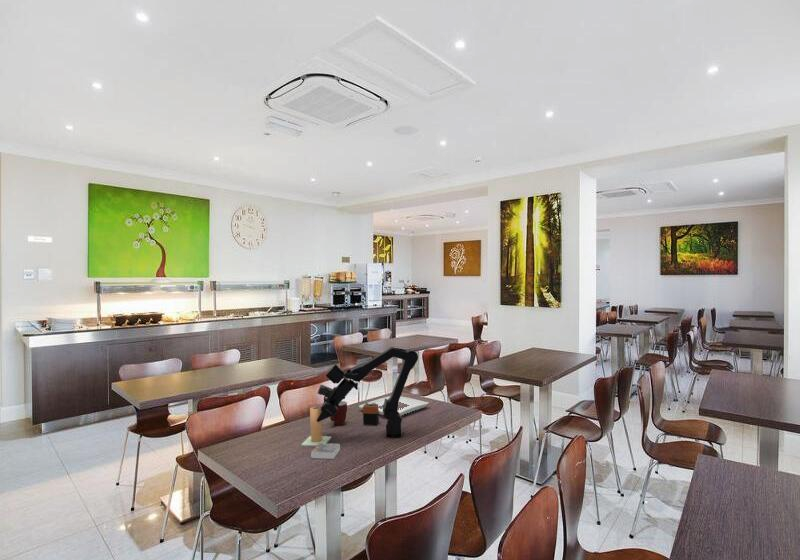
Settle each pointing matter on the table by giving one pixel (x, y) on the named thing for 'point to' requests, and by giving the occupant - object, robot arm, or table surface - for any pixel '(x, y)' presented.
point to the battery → (370, 414)
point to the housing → (325, 451)
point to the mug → (340, 413)
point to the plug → (315, 424)
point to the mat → (309, 443)
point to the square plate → (412, 403)
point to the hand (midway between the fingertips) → (317, 417)
